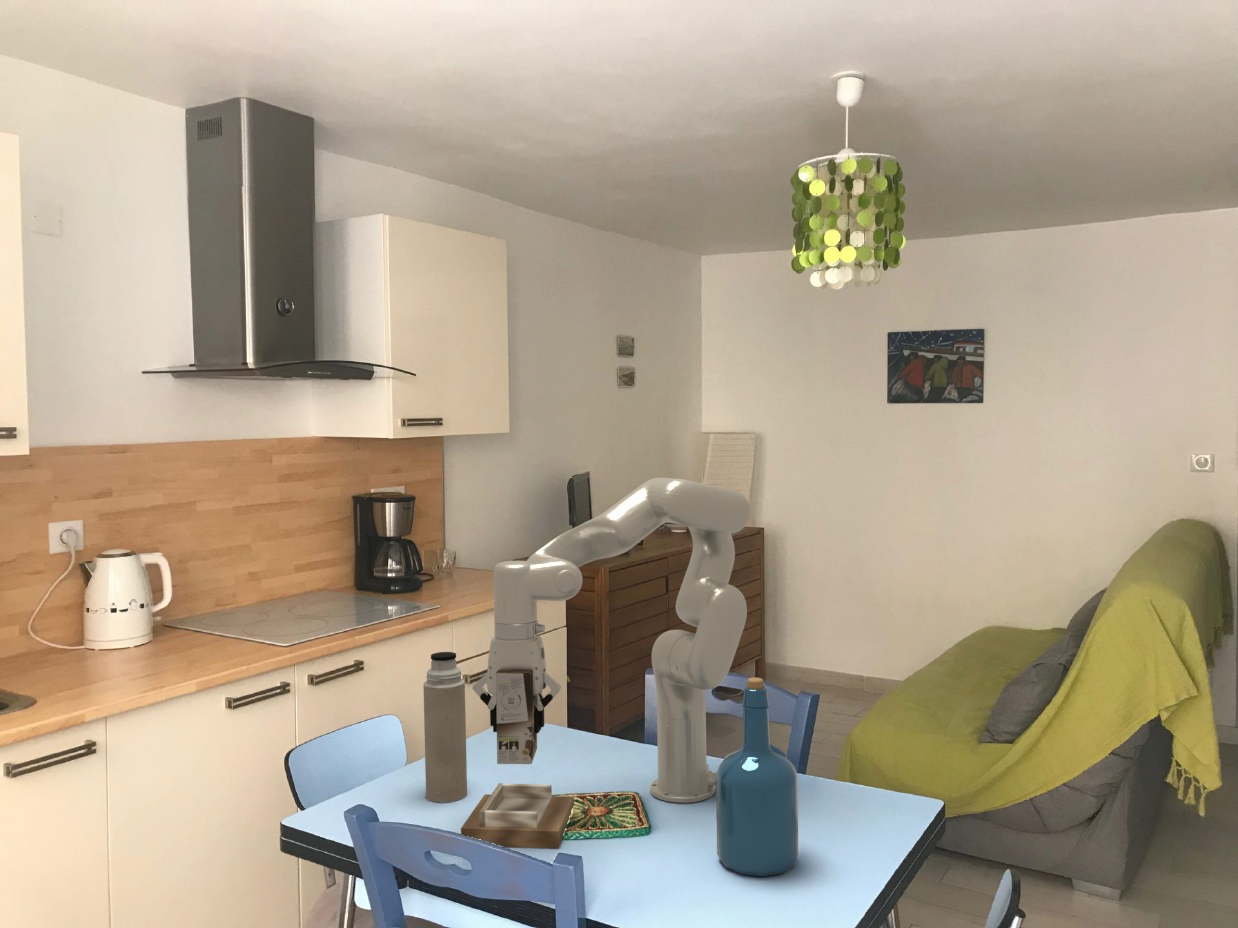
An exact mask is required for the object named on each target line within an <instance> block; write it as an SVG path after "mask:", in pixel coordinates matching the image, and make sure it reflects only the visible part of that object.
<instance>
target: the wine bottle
mask: <svg viewBox="0 0 1238 928" xmlns="http://www.w3.org/2000/svg"><path fill="white" fill-rule="evenodd" d="M741 708H742V709H743V710H742V711H743V715H742V746H741V747H740V748H739V749H738V750H735V751H732V752H730V753H729V754H727V755H726V756H725V757H724V758H723V760H722V761H721V763H720V764H719V766H718V768H717V770H716V772H715V773H716V785H715V806H716V807H715V808H716V809H715V811H716V813H715V814H716V817H715V818H716V820H715V821H716V854H717V857H718V860H719V861H720V862H721V863H722V864H723V867H725V868H727V869H729V870H731V871H732V872H733V871H734V872H735V873H739V874H741V875H749V876H756V877H757V876H758V877H765V876H774V875H782V874H784V873H785V872H788V871H789V870H791V869H793V868H794V867H795V866H796V863H797V860H798V855H799V799H798V798H799V797H798V796H799V795H798V793H799V792H798V791H799V787H798V785H799V784H798V773H797V770H796V767H795V766H794V764H793V763H792V762H791V760H789V759H787V758H788V757H787V754H786V753H785V752H784V751H782V750H781V749H779V748H777V747H776V746H774V745H772V744H771V743H770V741H771V740H770V727H769V726H770V725H769V724H770V723H769V708H770V705H769V696H768V689H767V687H766V686H765V685H764V679H763V678H761V677H749V678H748V679H747V681H746V685H745V686H744V687H743V695H742V705H741Z"/></svg>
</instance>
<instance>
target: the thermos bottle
mask: <svg viewBox="0 0 1238 928" xmlns="http://www.w3.org/2000/svg"><path fill="white" fill-rule="evenodd" d="M456 658H457V653H456V652H453V651H439V652H435V653H432V654H430V659H431V662H430V665H431V666H430V668H429V669H428V670H427V671H426V677H425V679H426V681H425V682H423V720H424V722H423V724H424V725H423V726H424V727H423V728H424V759H425V760H424V764H425V765H424V766H425V767H424V769H425V799H426V800H428V801H430V802H433V803H439V804H440V803H442V804H443V803H451V802H457V801H460V800H462V799H464V798H465V797H467V795H468V777H467V776H468V772H467V771H468V770H467V768H468V767H467V766H468V765H467V729H466V728H467V725H466V724H467V723H466V721H467V720H466V717H467V716H466V681H465V680H464V679H463V678H462V674H463V673H462V669H461V668H459V667H458V666H457V660H456Z"/></svg>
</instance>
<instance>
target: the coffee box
mask: <svg viewBox="0 0 1238 928" xmlns="http://www.w3.org/2000/svg"><path fill="white" fill-rule="evenodd" d="M535 709H536V706H535V704H534V695H533V671H532V670H498V671H497V672H496V713H497V715H496V716H497V732H496V764H497V765H531V764H532V763H533V762H534V758H535V756H536V753H537V750H538V733H535V732H534V711H535Z"/></svg>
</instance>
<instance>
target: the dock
mask: <svg viewBox="0 0 1238 928" xmlns="http://www.w3.org/2000/svg"><path fill="white" fill-rule="evenodd" d="M552 793H553V792H552V784H541V783H540V784H536V783H534V784H532V783H498V784H497V786H496V787H495V788H494V790H493V791H492V792H491V794H486V793H485V794H484V795H483V796H482V797H481V799H480V800H479V802H478V803H477V805H476V806H475V807H474V809H473V810H472V812H471V813H470V815H469V816H468V817H467V819H466V820H465V822H464V823H463V825H462V826H461V828H460V835H461V834H462V835H464V836H469V837H473V838H476V839H481V840H483V841H487V842H489V843H494V844H496V845H500V846H504V847H503V848H517V849H518V848H521V849H522V848H524V849H525V848H526V849H527V848H528V849H549V850H550V849H551V850H553V849H554V850H555V849H556V850H559V849H560V848H561V847H560V846H561V845H562V843H563V840H562V838H563V833H564V830H565V828H566V825H567V822H568V819H569V816H570V814H571V810H572V808H573V806H574V807H575V797H574V796H562V795H560V796H557V795H556V796H555V795H552ZM563 839H564V838H563Z"/></svg>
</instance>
